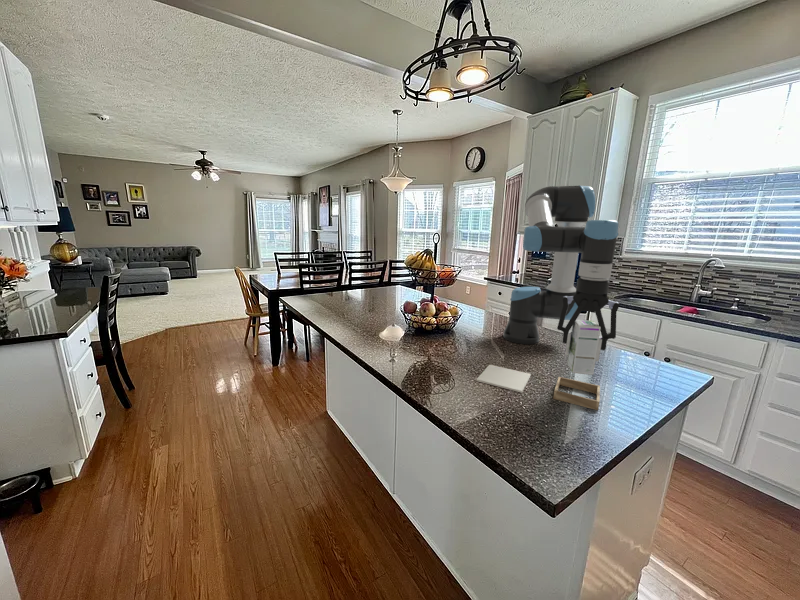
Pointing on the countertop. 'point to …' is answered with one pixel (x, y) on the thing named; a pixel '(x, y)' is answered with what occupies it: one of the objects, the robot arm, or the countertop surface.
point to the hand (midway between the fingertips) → (581, 356)
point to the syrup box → (583, 347)
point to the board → (504, 378)
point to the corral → (574, 398)
